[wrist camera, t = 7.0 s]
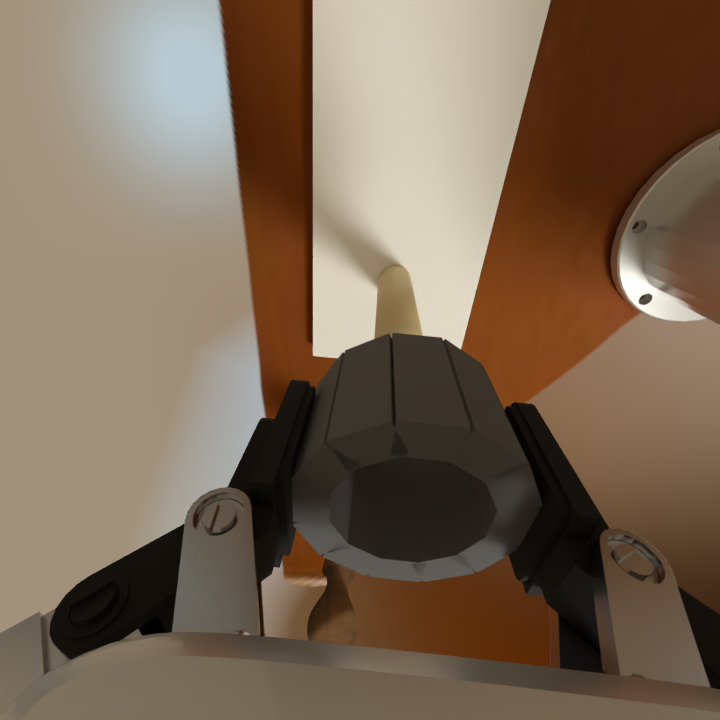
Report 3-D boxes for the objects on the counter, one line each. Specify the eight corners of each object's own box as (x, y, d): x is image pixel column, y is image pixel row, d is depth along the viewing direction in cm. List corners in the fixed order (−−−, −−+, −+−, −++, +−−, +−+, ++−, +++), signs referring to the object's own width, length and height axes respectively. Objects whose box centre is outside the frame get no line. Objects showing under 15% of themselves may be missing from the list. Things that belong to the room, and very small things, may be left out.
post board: (552, -44, 17) (776, -313, 7) (452, 360, 30) (486, 461, 20) (318, -61, 17) (230, -343, 8) (316, 347, 30) (281, 441, 20)
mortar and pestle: (376, 404, 33) (368, 626, 17) (393, 452, 36) (399, 675, 20) (313, 418, 34) (253, 633, 19) (334, 462, 37) (298, 678, 22)
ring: (516, 345, 10) (582, 439, 7) (468, 478, 13) (496, 590, 10) (318, 325, 10) (285, 408, 7) (316, 463, 13) (292, 568, 10)
